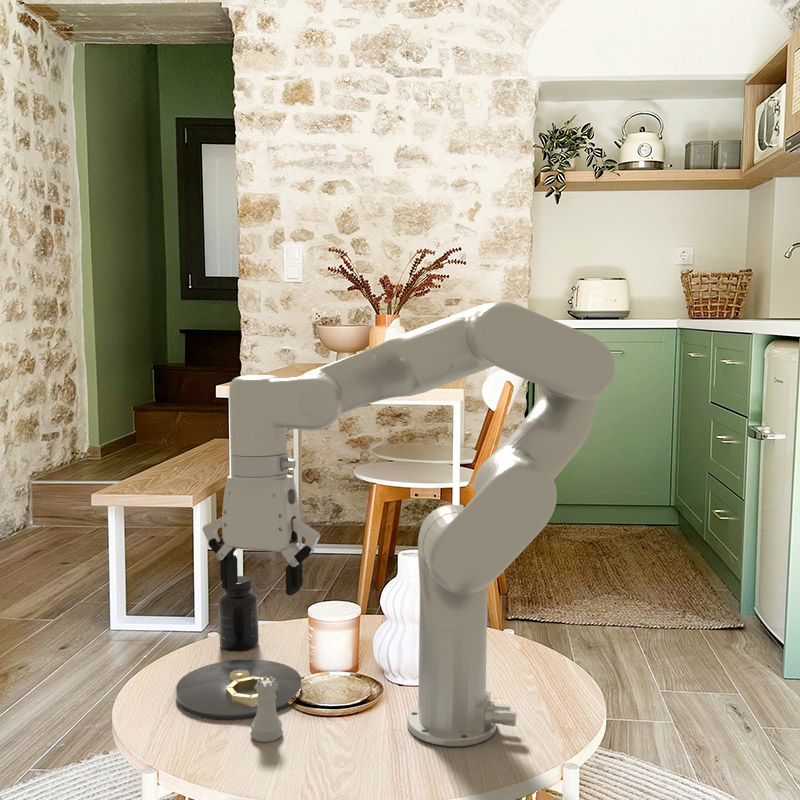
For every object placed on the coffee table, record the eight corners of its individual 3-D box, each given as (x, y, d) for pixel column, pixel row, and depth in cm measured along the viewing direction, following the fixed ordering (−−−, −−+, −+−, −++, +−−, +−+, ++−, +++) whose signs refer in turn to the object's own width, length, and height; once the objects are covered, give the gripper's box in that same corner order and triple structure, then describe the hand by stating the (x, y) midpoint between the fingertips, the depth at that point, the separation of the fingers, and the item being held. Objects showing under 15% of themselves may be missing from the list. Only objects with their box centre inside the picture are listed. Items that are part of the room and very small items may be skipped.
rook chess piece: (266, 747, 116) (265, 689, 116) (243, 737, 119) (243, 681, 118) (289, 734, 120) (289, 678, 119) (267, 725, 123) (266, 671, 122)
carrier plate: (319, 675, 140) (319, 657, 140) (270, 727, 122) (270, 706, 122) (213, 662, 145) (213, 645, 145) (152, 710, 127) (151, 690, 127)
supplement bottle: (245, 635, 158) (244, 571, 157) (265, 646, 153) (265, 579, 152) (211, 644, 154) (211, 578, 153) (232, 655, 149) (231, 587, 148)
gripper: (328, 464, 118) (330, 587, 119) (216, 459, 123) (219, 576, 125) (305, 473, 111) (307, 603, 112) (188, 467, 116) (191, 591, 118)
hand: (261, 589), depth 119 cm, fingers open, 9 cm apart
